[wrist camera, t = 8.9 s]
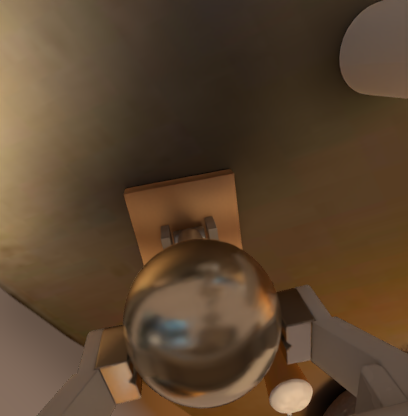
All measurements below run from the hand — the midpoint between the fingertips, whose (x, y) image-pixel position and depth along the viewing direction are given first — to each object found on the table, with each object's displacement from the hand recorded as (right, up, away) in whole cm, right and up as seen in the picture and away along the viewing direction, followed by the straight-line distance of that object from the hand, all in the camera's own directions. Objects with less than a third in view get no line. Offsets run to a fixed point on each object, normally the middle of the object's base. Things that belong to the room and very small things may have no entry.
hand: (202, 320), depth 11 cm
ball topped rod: (-1, +3, +7) cm, 8 cm away
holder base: (-2, +2, +19) cm, 19 cm away
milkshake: (+8, -12, +27) cm, 31 cm away
